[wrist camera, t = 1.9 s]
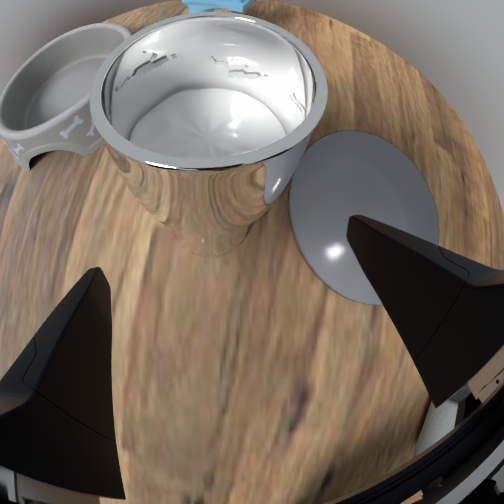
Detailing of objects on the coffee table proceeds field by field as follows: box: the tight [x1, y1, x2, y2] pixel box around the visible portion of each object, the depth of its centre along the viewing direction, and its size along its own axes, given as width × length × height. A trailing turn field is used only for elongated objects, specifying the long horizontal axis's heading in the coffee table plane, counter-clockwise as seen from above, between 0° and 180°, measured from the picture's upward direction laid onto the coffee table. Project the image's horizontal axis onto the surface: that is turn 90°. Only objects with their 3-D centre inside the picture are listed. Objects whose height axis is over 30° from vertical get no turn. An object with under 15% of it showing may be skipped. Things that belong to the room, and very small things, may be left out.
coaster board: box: [288, 131, 439, 305], centre depth 22 cm, size 16×16×1 cm
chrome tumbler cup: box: [90, 12, 328, 257], centre depth 13 cm, size 7×7×15 cm
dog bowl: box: [0, 23, 133, 170], centre depth 18 cm, size 17×18×5 cm
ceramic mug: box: [414, 387, 471, 457], centre depth 17 cm, size 11×8×8 cm
